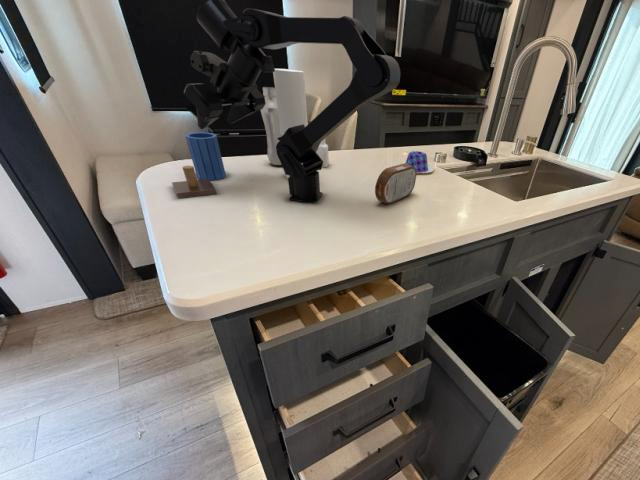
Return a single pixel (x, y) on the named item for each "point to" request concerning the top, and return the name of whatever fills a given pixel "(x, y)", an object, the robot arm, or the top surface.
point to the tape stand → (193, 185)
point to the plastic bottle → (271, 123)
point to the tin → (395, 183)
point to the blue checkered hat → (418, 162)
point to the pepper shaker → (323, 153)
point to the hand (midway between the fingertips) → (215, 124)
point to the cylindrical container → (290, 99)
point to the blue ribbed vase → (206, 155)
